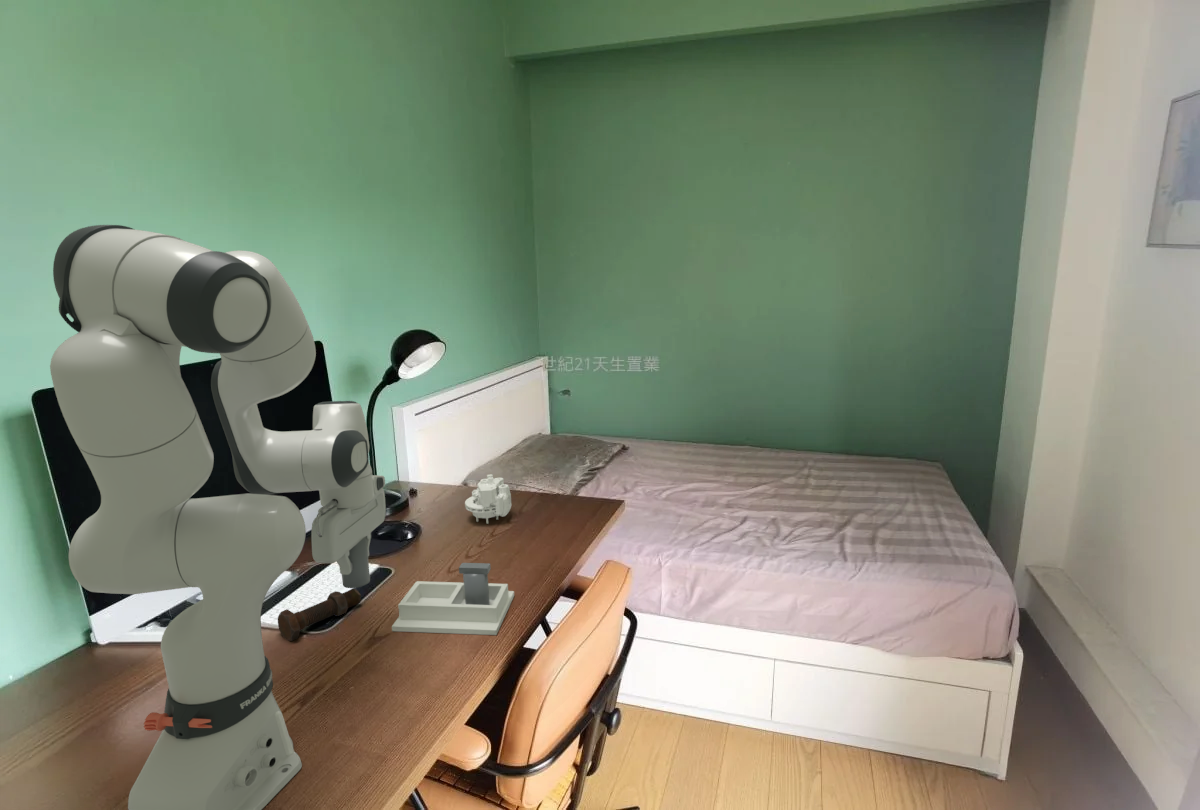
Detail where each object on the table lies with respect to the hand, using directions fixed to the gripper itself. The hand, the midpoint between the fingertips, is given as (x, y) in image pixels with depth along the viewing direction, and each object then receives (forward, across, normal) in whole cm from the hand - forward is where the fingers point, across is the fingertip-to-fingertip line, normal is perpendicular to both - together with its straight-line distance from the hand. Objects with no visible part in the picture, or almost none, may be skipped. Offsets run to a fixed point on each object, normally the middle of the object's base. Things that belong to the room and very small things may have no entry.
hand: (355, 565), depth 113 cm
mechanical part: (+12, +55, -8) cm, 57 cm away
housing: (+14, +10, -14) cm, 23 cm away
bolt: (+15, +6, +11) cm, 19 cm away
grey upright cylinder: (+3, 0, 0) cm, 3 cm away
